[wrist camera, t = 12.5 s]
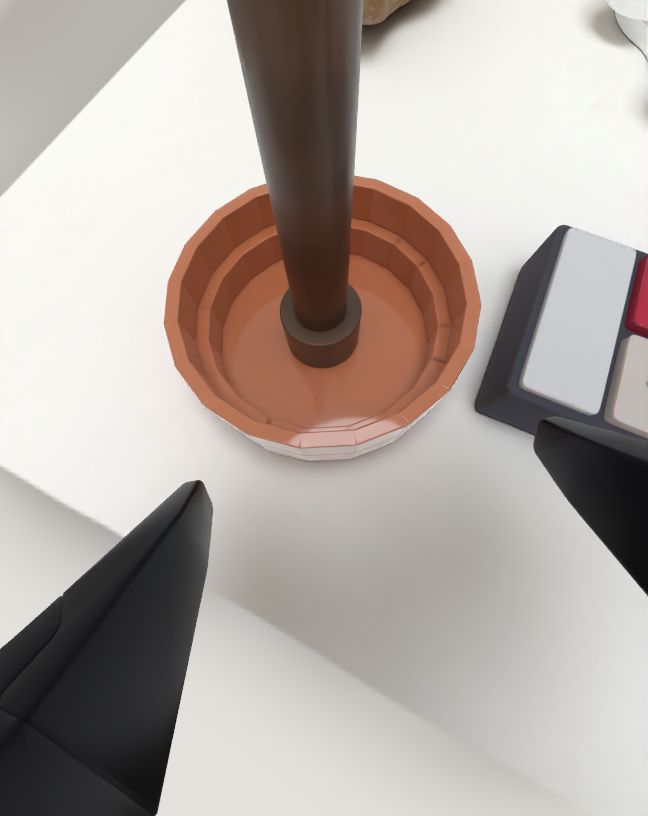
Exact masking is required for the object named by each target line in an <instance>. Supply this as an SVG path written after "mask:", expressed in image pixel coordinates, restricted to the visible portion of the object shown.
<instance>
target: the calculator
mask: <svg viewBox="0 0 648 816" xmlns="http://www.w3.org/2000/svg"><path fill="white" fill-rule="evenodd" d="M476 408H477V410H478V411H479V412H481V413H483V414H485V415H488V416H490V417H493V418H495V419H497V420H500V421H502V422H505V423H507V424H510V425H512V426H514V427H517V428H519V429H522V430H524V431H526V432H529V433H531V434H534V435H535V433H536V428H537V424H538V422H539V420H541V419H544V418H549V417H561V418H565V419H568V420H572V421H576V422H580V423H583V424H587V425H591V426H595V427H598V428H602V429H606V430H609V431H613V432H617V433H621V434H624V435H628V436H632V437H635V438H639V439H643V440H647V441H648V254H647V253H644V252H641V251H638V250H635V249H633V248H631V247H628V246H625V245H622V244H619V243H617V242H614V241H611V240H608V239H605V238H602V237H599V236H597V235H594V234H591V233H588V232H585V231H582V230H580V229H577V228H573V227H570V226H567V225H561V226H559V227H557V228H556V229H555V230H554V232H553V233H552V234H551V235H550V236H549V237H548V238H547V239H546V241H545V242H544V243H543V244H542V245H541V246H540V247H539V248H538V250H537V251H536V252H535V253H534V254H533V255H532V256H531V258H530V259H529V260H528V261H527V262H526V263H525V264H524V266H523V267H522V269H521V271H520V274H519V277H518V280H517V283H516V286H515V289H514V292H513V295H512V298H511V301H510V303H509V306H508V309H507V312H506V315H505V318H504V321H503V324H502V327H501V330H500V333H499V336H498V339H497V342H496V345H495V348H494V351H493V353H492V356H491V359H490V362H489V365H488V368H487V371H486V374H485V377H484V380H483V383H482V386H481V389H480V392H479V395H478V398H477V401H476Z"/></svg>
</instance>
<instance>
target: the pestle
mask: <svg viewBox="0 0 648 816" xmlns="http://www.w3.org/2000/svg"><path fill="white" fill-rule="evenodd" d="M227 3H228V7H229V12H230V17H231V21H232V26H233V31H234V35H235V40H236V44H237V49H238V54H239V58H240V63H241V67H242V72H243V77H244V81H245V86H246V91H247V95H248V100H249V104H250V109H251V114H252V118H253V123H254V127H255V132H256V137H257V141H258V146H259V151H260V155H261V160H262V164H263V169H264V174H265V178H266V183H267V187H268V192H269V197H270V201H271V206H272V211H273V215H274V220H275V224H276V229H277V234H278V238H279V243H280V247H281V252H282V257H283V261H284V266H285V271H286V275H287V280H288V284H289V289H288V290H287V291H286V293H285V294H284V296H283V299H282V301H281V305H280V318H281V322H282V325H283V329H284V332H285V335H286V339H287V342H288V345H289V348H290V350H291V352H292V353H293V355H294V356H295V357H296V358H297V359H298V360H299V361H301V362H302V363H304V364H306V365H308V366H311V367H316V368H329V367H333V366H336V365H338V364H340V363H342V362H344V361H345V360H346V359H348V358H349V357H350V356H351V354H352V353H353V352H354V350H355V348H356V346H357V342H358V336H359V329H360V321H361V314H362V306H361V301H360V298H359V296H358V294H357V292H356V291H355V289H354V288H353V287H352V286H351V285H350V284H349V283H348V277H349V258H350V240H351V222H352V203H353V185H354V166H355V148H356V129H357V111H358V93H359V74H360V56H361V37H362V19H363V0H227Z"/></svg>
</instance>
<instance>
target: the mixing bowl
mask: <svg viewBox="0 0 648 816" xmlns="http://www.w3.org/2000/svg"><path fill="white" fill-rule="evenodd" d="M348 283H349V284H350V285H351V286H352V287H353V288H354V289H355V291H356V292H357V294H358V296H359V298H360V301H361V306H362V314H361V321H360V329H359V336H358V342H357V346H356V348H355V350H354V352H353V353H352V354H351V356H350V357H349V358H348V359H346V360H345V361H344V362H342V363H340V364H338V365H336V366H333V367H329V368H316V367H311V366H308V365H306V364H304V363H302V362H301V361H299V360H298V359H297V358H296V357H295V356H294V355H293V353H292V352H291V350H290V348H289V345H288V342H287V339H286V335H285V332H284V329H283V325H282V322H281V318H280V305H281V301H282V299H283V296H284V294H285V293H286V291H287V290H288V289H289V284H288V280H287V275H286V271H285V266H284V261H283V257H282V252H281V247H280V243H279V238H278V234H277V229H276V224H275V220H274V215H273V211H272V206H271V201H270V197H269V192H268V187H267V184H264V185H261V186H257V187H254V188H251V189H249V190H248V191H246V192H244V193H243V194H241V195H240V196H238V197H237V198H235V199H233V200H232V201H230V202H229V203H227V204H225V205H224V206H222V207H221V208H219V209H218V210H216V211H215V213H213V214H212V215H211V216H210V217H209V218H208V219H207V220H206V222H205V223H204V224H203V225H202V226H201V227H200V228H199V229H198V230H197V231H196V233H195V234H194V235H193V236H192V237H191V238H190V239H189V240H188V241H187V243H186V244H185V246H184V248H183V250H182V252H181V254H180V256H179V259H178V261H177V263H176V265H175V267H174V269H173V272H172V274H171V276H170V278H169V280H168V286H167V296H166V307H165V317H164V327H165V331H166V334H167V338H168V342H169V345H170V349H171V353H172V356H173V360H174V364H175V367H176V369H177V370H178V371H179V373H180V374H181V376H182V377H183V378H184V380H185V381H186V382H187V384H188V385H189V387H190V388H191V389H192V391H193V392H194V393H195V395H196V396H197V397H198V399H199V400H200V402H201V403H202V404H203V405H204V406H205V407H206V408H207V409H209V410H210V411H211V412H213V413H214V414H215V415H217V416H218V417H219V418H221V419H222V420H223V421H225V422H226V423H227V424H229V425H230V426H231V427H233V428H234V429H236V430H237V431H239V432H240V433H242V434H243V435H245V436H246V437H248V438H249V439H251V440H252V441H254V442H255V443H257V444H258V445H260V446H261V447H263V448H264V449H266V450H268V451H272V452H276V453H279V454H283V455H287V456H290V457H294V458H298V459H302V460H305V461H321V460H339V459H352V458H355V457H358V456H360V455H363V454H365V453H368V452H371V451H373V450H376V449H378V448H381V447H383V446H386V445H389V444H391V443H392V442H394V441H396V440H397V439H398V438H399V437H400V436H402V435H403V434H404V433H405V432H406V431H407V430H409V429H410V428H411V427H412V426H413V425H415V424H416V423H417V422H418V421H419V420H421V419H422V418H423V417H424V416H425V415H426V414H427V413H428V412H429V411H430V410H431V409H432V408H433V407H434V406H435V405H436V404H437V403H438V402H439V401H440V400H441V399H442V398H443V397H444V396H445V395H446V394H447V393H448V392H449V391H450V389H451V388H452V386H453V384H454V383H455V381H456V379H457V377H458V376H459V374H460V372H461V371H462V369H463V367H464V365H465V364H466V362H467V360H468V359H469V357H470V355H471V353H472V352H473V349H474V346H475V340H476V334H477V328H478V322H479V315H480V309H481V301H480V296H479V292H478V287H477V282H476V277H475V273H474V268H473V263H472V260H471V258H470V257H469V255H468V253H467V252H466V250H465V249H464V247H463V245H462V244H461V242H460V240H459V239H458V237H457V236H456V234H455V232H454V231H453V229H452V228H451V226H450V225H449V224H448V223H447V222H446V221H445V220H443V219H442V218H441V217H440V216H439V215H438V214H436V213H435V212H434V211H433V210H432V209H430V208H429V207H428V206H427V205H426V204H425V203H423V202H422V201H421V200H420V199H419V198H417V197H415V196H413V195H410V194H408V193H406V192H404V191H402V190H399V189H397V188H395V187H393V186H391V185H388V184H386V183H384V182H382V181H379V180H377V179H371V178H365V177H359V176H354V185H353V203H352V222H351V240H350V258H349V277H348Z"/></svg>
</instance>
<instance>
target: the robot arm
mask: <svg viewBox="0 0 648 816" xmlns="http://www.w3.org/2000/svg"><path fill="white" fill-rule="evenodd" d="M534 451H535V453H536V455H537V456H538V458H539V459H540V461H541V462H542V464H543V465H544V467H545V468H546V469H547V471H548V472H549V474H550V475H551V477H552V478H553V480H554V481H555V483H556V484H557V486H558V487H559V489H560V490H561V491H562V493H563V494H564V496H565V497H566V498H567V500H568V501H569V502H570V504H571V505H572V506H573V507H574V509H575V510H576V511H577V512H578V513H579V515H580V516H581V517H582V518H583V519H584V521H585V522H586V523H587V524H588V525H589V527H590V528H591V529H592V530H593V531H594V532H595V534H596V535H597V536H598V537H599V538H600V540H601V541H602V542H603V543H604V544H605V546H606V547H607V548H608V549H609V550H610V552H611V553H612V554H613V555H614V556H615V558H616V559H617V560H618V561H619V562H620V563H621V565H622V566H623V567H624V568H625V569H626V571H627V572H628V573H629V574H630V575H631V577H632V578H633V579H634V580H635V581H636V583H637V584H638V585H639V586H640V587H641V588H642V590H643V591H644V592H645V593H646V594H647V596H648V441H647V440H643V439H639V438H635V437H632V436H628V435H624V434H621V433H617V432H613V431H609V430H606V429H602V428H598V427H595V426H591V425H587V424H583V423H580V422H576V421H572V420H568V419H565V418H561V417H549V418H544V419H541V420H539V422H538V424H537V428H536V433H535V439H534ZM212 516H213V506H212V502H211V500H210V497H209V495H208V493H207V490H206V488H205V486H204V483H203V482H202V481H200V480H196V481H191V482H186V483H184V484H183V485H182V486H181V487H179V488H178V489H177V490H176V491H175V492H174V493H173V494H172V495H171V496H170V497H168V498H167V499H166V500H165V501H164V502H163V503H162V504H161V505H160V506H159V507H157V508H156V509H155V510H154V511H153V512H152V513H151V514H150V515H149V516H148V517H146V518H145V519H144V520H143V521H142V522H141V523H140V524H139V525H138V526H137V527H136V528H134V529H133V530H132V531H131V532H130V533H129V534H128V535H127V536H126V537H125V538H123V539H122V540H121V541H120V542H119V543H118V544H117V545H116V546H115V547H114V548H113V549H111V550H110V551H109V552H108V553H107V554H106V555H105V556H104V557H103V558H102V559H100V560H99V561H98V562H97V563H96V564H95V565H94V566H93V567H92V568H90V570H88V571H87V572H86V573H85V574H84V575H83V576H82V577H81V578H80V579H78V580H77V581H76V582H75V583H74V584H73V585H72V586H71V587H70V588H69V589H67V590H66V591H65V592H64V594H63V596H60V597H58V598H57V599H56V600H55V601H54V602H53V603H52V604H51V605H50V606H49V607H48V608H46V610H44V611H43V612H42V613H41V614H40V615H39V616H38V617H36V618H35V619H34V620H33V621H32V622H31V623H30V624H29V625H27V626H26V627H25V628H24V629H23V630H22V631H21V632H19V633H18V634H17V635H16V636H15V637H14V638H13V639H12V640H10V641H9V642H8V643H7V644H6V645H4V646H3V647H2V648H1V649H0V816H155V815H156V814H157V811H158V807H159V802H160V797H161V792H162V787H163V783H164V778H165V773H166V768H167V763H168V758H169V753H170V748H171V743H172V738H173V734H174V729H175V724H176V719H177V714H178V709H179V705H180V700H181V695H182V690H183V685H184V680H185V676H186V671H187V666H188V661H189V656H190V651H191V646H192V642H193V636H194V632H195V627H196V622H197V617H198V612H199V607H200V603H201V598H202V592H203V588H204V583H205V578H206V573H207V567H208V559H209V549H210V538H211V527H212Z"/></svg>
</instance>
